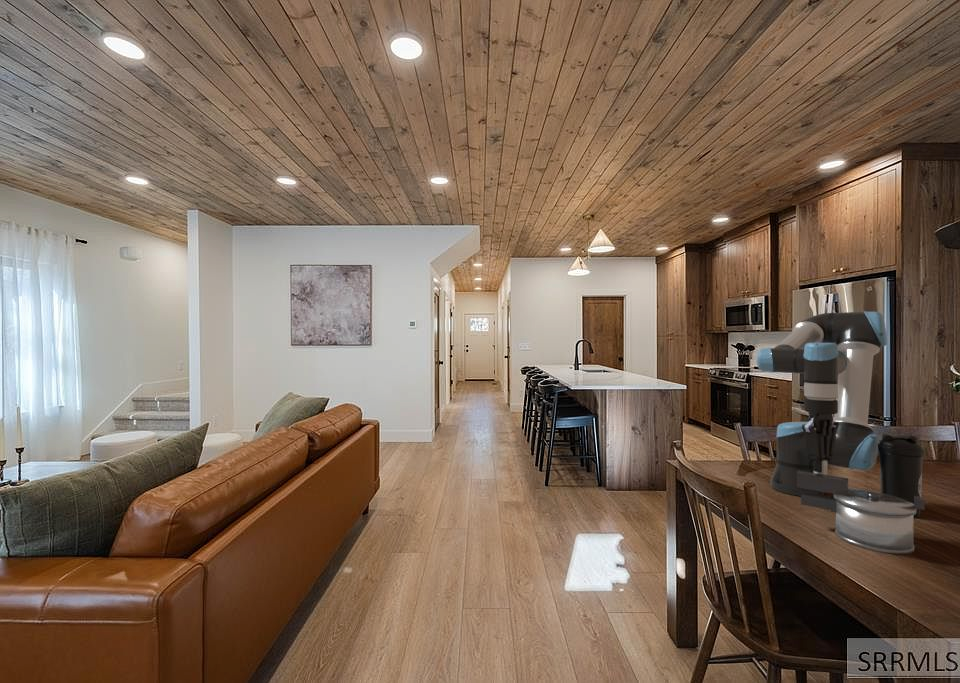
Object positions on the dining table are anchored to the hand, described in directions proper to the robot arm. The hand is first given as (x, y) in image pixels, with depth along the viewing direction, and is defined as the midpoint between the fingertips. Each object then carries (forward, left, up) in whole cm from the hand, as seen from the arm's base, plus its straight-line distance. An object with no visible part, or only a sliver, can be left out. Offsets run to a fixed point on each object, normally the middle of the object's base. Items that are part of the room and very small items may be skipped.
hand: (820, 483), depth 126 cm
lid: (+8, -3, -2) cm, 9 cm away
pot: (+7, -3, -12) cm, 14 cm away
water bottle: (+17, +28, -12) cm, 35 cm away
